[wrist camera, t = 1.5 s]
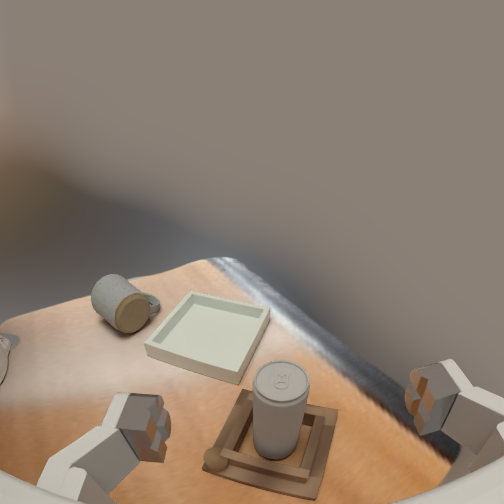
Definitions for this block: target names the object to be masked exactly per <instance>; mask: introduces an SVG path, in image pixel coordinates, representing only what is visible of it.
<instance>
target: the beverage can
mask: <svg viewBox="0 0 504 504" xmlns="http://www.w3.org/2000/svg"><path fill="white" fill-rule="evenodd" d="M309 387H310V385H309V377H308V374H307V372H306V371H305V369H304V368H302V367H301V366H300V365H298V364H297V363H294V362H291V361H287V360H275V361H270V362H268V363H266V364H264V365H262V366H261V367H260V368H259V369H258V370H257V372H256V374H255V377H254V380H253V441H254V446H255V448H256V450H257V451H258V453H259V454H260V455H262V456H263V457H265V458H268V459H273V460H276V459H282V458H285V457H287V456H288V455H290V454H291V453H292V452H293V450H294V449H295V447H296V445H297V441H298V437H299V432H300V429H301V425H302V421H303V417H304V412H305V408H306V403H307V398H308V393H309Z"/></svg>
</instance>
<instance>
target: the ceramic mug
mask: <svg viewBox="0 0 504 504" xmlns="http://www.w3.org/2000/svg"><path fill="white" fill-rule="evenodd" d="M91 302H92V306H93V308H94V310H95V311H96V312H97V313H98V314H99V315H100V316H102V317H103V318H104V319H105V320H106V321H107V322H109V323H110V324H111V325H112V326H113V327H114V328H115V329H117V330H119V331H121V332H123V333H133V332H135V331H137V330H139V329H140V328H142V327H143V325H144V324H145V323H146V321H147V320H148V317H149V314H153V313H156V312H157V311H158V310H159V305H160V302H159V300H158V299H157V298H156V297H154V296H152V295H150V294H147V293H143V292H141V291H140V290H139V289H137V288H136V287H134V286H133V285H132V284H131V283H129V282H128V281H127V280H126V279H124V278H123V277H122V276H120V275H117V274H110V275H106V276H104V277H103V278H101V279H100V280H99V281H98V282H97V283H96V285H95V286H94V288H93V291H92V294H91ZM150 303H151V304H152V305H151V306H150Z"/></svg>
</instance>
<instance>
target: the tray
mask: <svg viewBox="0 0 504 504" xmlns="http://www.w3.org/2000/svg"><path fill="white" fill-rule="evenodd" d="M269 321H270V307H266V306H260V305H255V304H250V303H246V302H241V301H236V300H231V299H226V298H222V297H217V296H212V295H208V294H203V293H199V292H194V291H190V292H189V293H188V294H187V295H186V296H185V297H184V298H183V300H182V301H181V302H180V303H179V304H178V305H177V306H176V307H175V308H174V310H173V311H172V312H171V313H170V314H169V315H168V316H167V317H166V319H165V320H164V321H163V322H162V323H161V324H160V325H159V326H158V328H157V329H156V330H155V331H154V332H153V333H152V334H151V336H150V337H149V338H148V339H147V340H146V341H145V342H144V345H145V348H146V351H147V354H148V356H150V357H153V358H155V359H158V360H161V361H164V362H167V363H169V364H172V365H175V366H178V367H181V368H184V369H187V370H190V371H193V372H196V373H199V374H203V375H206V376H209V377H212V378H216V379H219V380H223V381H226V382H230V383H233V384H237V385H238V384H239V382H240V380H241V378H242V376H243V374H244V372H245V370H246V368H247V366H248V364H249V362H250V360H251V358H252V356H253V354H254V352H255V350H256V348H257V346H258V344H259V342H260V340H261V338H262V336H263V334H264V332H265V329H266V327H267V325H268V323H269Z"/></svg>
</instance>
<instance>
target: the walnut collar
mask: <svg viewBox="0 0 504 504" xmlns="http://www.w3.org/2000/svg"><path fill="white" fill-rule="evenodd" d="M337 414H338V410H337V409H331V408H325V407H320V406H315V405H309V404H306V408H305V412H304V417H303V421H302V424H305V425H310V426H313V427H312V430H311V434H310V437H309V441H308V444H307V448H306V451H305V454H304V457H303V461H302V464H301V467H300V468H297V467H292V466H288V465H283V464H279V463H275V462H271V461H267V460H263V459H259V458H256V457H252V456H249V455H245V454H242V453H238V450H239V448H240V446H241V443H242V441H243V439H244V437H245V435H246V432H247V430H248V428H249V426H250V423H251V421H252V419H253V391H249V390H245V389H242V391H241V393H240V395H239V397H238V399H237V401H236V403H235V405H234V407H233V409H232V411H231V413H230V415H229V417H228V419H227V421H226V423H225V425H224V427H223V429H222V431H221V433H220V435H219V437H218V438H217V440H216V442H215V444H214V446H213V448H210V449H208V450H207V451H206V452H205V454H204V461H205V463H204V465H203V467H202V469H203V471H206V472H209V473H212V474H215V475H217V476H220V477H223V478H226V479H229V480H233V481H236V482H239V483H242V484H246V485H249V486H253V487H256V488H260V489H264V490H267V491H271V492H276V493H280V494H284V495H289V496H293V497H298V498H303V499H308V500H314V501H315V500H316V498H317V494H318V491H319V487H320V484H321V480H322V477H323V473H324V469H325V465H326V461H327V457H328V453H329V449H330V445H331V441H332V437H333V432H334V428H335V423H336V418H337Z"/></svg>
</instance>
